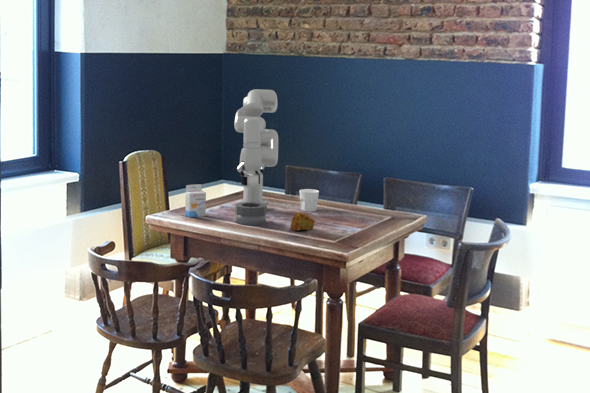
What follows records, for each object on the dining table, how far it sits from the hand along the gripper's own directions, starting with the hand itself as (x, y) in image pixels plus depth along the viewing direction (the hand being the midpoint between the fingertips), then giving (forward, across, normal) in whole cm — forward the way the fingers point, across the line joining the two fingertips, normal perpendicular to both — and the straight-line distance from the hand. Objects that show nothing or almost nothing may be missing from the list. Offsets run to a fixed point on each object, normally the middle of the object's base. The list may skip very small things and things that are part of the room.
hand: (250, 184), depth 301 cm
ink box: (+18, +13, -24) cm, 33 cm away
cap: (+1, 0, 0) cm, 1 cm away
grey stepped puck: (+18, 0, 0) cm, 18 cm away
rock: (+18, -9, +25) cm, 32 cm away
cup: (+18, -43, -3) cm, 47 cm away
